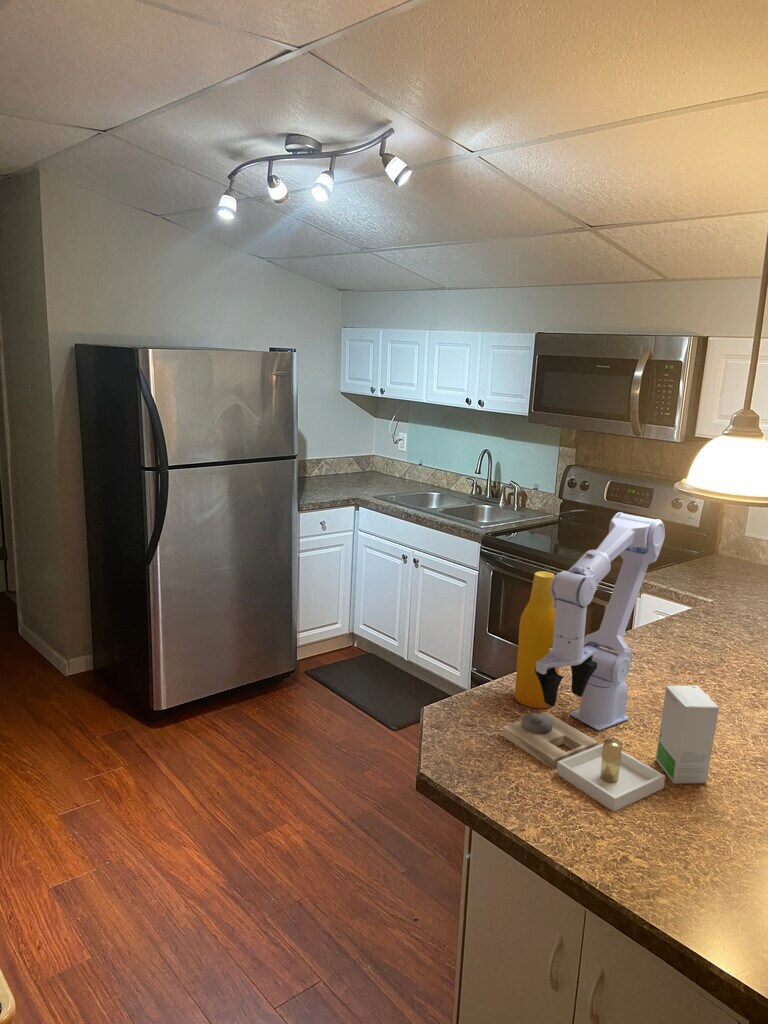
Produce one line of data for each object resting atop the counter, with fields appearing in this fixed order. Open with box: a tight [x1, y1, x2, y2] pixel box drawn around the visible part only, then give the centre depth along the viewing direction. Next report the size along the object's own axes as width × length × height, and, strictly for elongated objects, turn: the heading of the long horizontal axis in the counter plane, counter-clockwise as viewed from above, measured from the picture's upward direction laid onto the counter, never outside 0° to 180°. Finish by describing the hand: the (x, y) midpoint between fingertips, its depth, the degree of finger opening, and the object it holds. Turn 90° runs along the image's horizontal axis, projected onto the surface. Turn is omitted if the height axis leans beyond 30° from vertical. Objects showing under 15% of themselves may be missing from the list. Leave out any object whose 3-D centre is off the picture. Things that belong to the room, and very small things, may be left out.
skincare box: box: [655, 685, 720, 785], centre depth 136 cm, size 8×7×16 cm
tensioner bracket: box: [501, 711, 599, 770], centre depth 146 cm, size 12×14×4 cm
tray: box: [556, 743, 666, 813], centre depth 134 cm, size 13×13×2 cm
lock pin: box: [600, 738, 623, 783], centre depth 134 cm, size 3×3×7 cm
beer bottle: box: [514, 570, 560, 709], centre depth 161 cm, size 9×9×29 cm
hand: (563, 699), depth 145 cm, fingers open, 7 cm apart
